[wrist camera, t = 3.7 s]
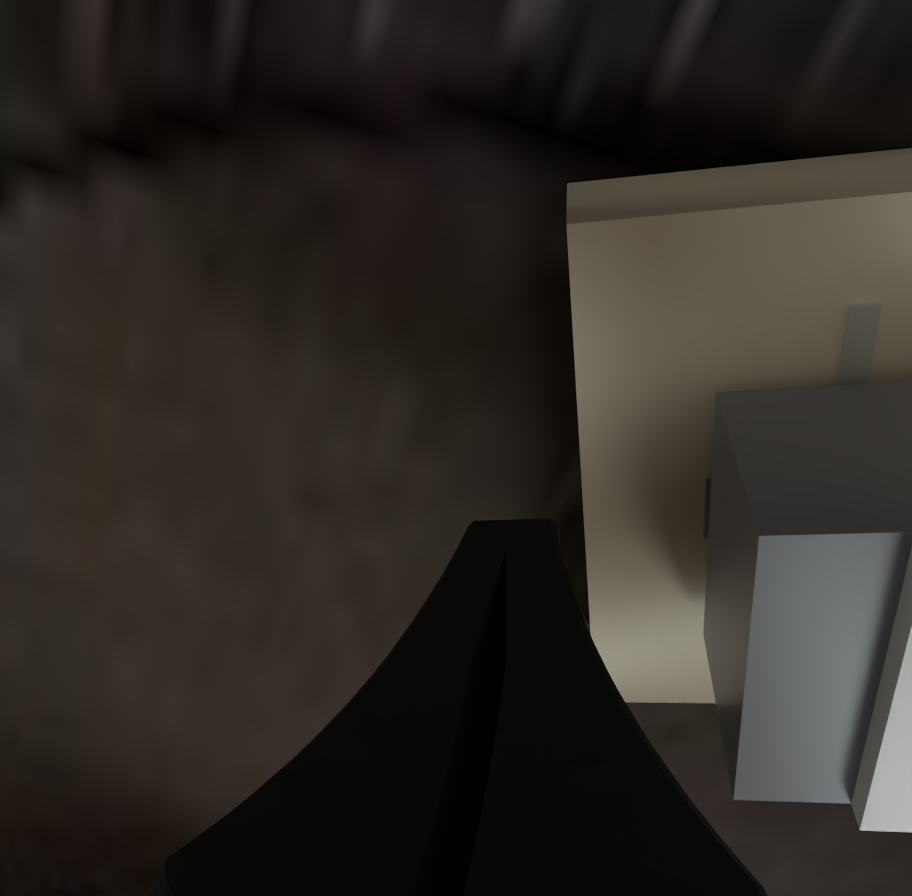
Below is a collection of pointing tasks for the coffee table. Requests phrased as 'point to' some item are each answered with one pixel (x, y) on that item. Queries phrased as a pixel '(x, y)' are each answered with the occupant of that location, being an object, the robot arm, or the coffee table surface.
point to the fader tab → (814, 596)
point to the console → (712, 362)
